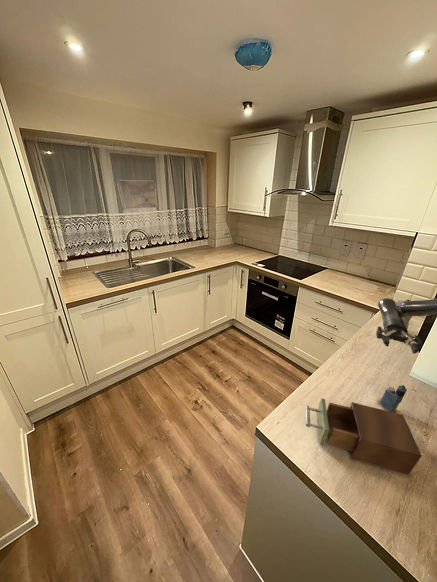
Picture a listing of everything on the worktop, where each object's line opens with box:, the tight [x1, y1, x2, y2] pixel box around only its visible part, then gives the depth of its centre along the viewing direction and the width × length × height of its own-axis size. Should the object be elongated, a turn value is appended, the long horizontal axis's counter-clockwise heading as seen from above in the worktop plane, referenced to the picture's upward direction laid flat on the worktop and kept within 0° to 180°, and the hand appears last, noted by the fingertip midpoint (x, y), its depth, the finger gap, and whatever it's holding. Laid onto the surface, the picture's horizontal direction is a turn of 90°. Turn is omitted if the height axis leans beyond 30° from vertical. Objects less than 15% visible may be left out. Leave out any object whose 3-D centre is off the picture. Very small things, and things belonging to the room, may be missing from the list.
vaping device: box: [379, 384, 407, 413], centre depth 83 cm, size 3×5×12 cm, turn 24°
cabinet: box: [349, 401, 423, 476], centre depth 71 cm, size 15×13×9 cm
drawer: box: [304, 397, 360, 452], centre depth 74 cm, size 18×11×7 cm, turn 73°
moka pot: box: [395, 299, 413, 330], centre depth 126 cm, size 10×15×20 cm, turn 112°
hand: (401, 347), depth 86 cm, fingers open, 8 cm apart
